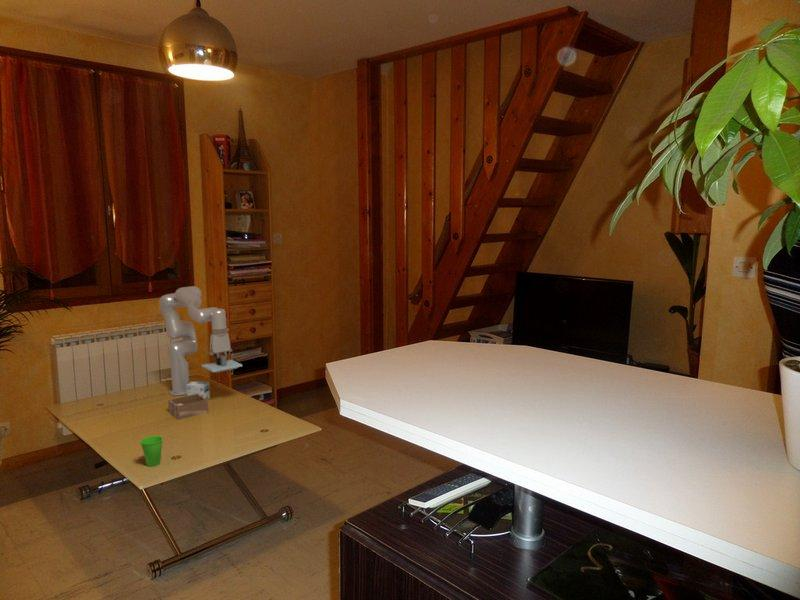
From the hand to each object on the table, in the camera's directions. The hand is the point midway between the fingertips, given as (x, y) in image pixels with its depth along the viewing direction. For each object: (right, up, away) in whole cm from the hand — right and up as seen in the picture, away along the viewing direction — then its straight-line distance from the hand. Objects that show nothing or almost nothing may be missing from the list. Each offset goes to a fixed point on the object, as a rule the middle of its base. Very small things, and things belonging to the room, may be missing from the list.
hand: (221, 363), depth 304 cm
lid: (0, -3, 0) cm, 3 cm away
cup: (-6, -35, -69) cm, 78 cm away
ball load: (-19, -25, -10) cm, 33 cm away
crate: (-14, -26, -10) cm, 31 cm away
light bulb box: (-17, -23, +11) cm, 30 cm away
